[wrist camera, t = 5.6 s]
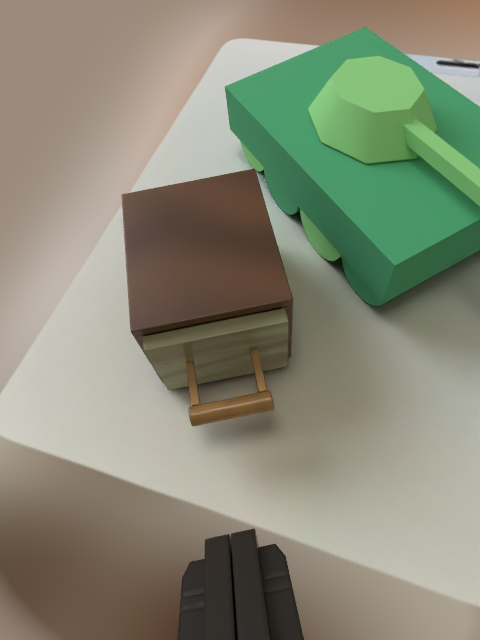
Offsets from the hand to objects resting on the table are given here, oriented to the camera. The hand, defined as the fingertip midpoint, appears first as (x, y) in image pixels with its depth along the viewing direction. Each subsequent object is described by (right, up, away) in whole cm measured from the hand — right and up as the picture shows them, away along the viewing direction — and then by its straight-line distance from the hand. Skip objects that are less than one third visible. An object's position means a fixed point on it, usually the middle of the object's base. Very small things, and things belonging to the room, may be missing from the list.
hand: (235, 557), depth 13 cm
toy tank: (+16, +18, +34) cm, 41 cm away
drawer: (-2, +5, +27) cm, 27 cm away
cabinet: (-2, +8, +30) cm, 31 cm away
